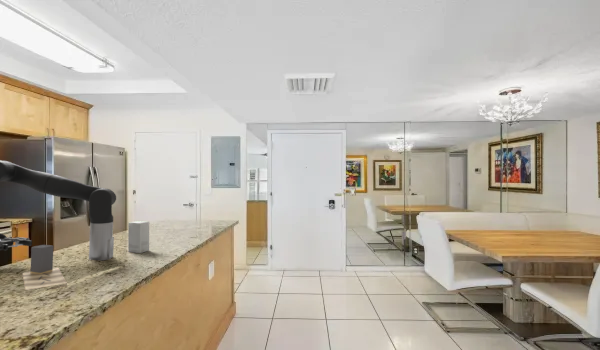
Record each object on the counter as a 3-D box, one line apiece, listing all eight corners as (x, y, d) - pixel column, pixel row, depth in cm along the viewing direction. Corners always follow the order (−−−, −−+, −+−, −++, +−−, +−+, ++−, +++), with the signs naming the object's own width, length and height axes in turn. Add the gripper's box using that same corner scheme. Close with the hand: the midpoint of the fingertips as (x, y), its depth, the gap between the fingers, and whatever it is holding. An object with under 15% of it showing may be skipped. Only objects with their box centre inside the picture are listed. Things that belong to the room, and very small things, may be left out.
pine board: (22, 275, 118) (22, 272, 118) (58, 270, 125) (58, 267, 125) (25, 293, 100) (25, 290, 100) (66, 286, 108) (66, 282, 108)
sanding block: (30, 272, 118) (31, 247, 118) (42, 269, 122) (43, 244, 122) (40, 274, 117) (41, 248, 117) (52, 270, 121) (53, 245, 121)
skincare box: (149, 250, 162) (150, 221, 162) (139, 253, 156) (140, 223, 156) (137, 249, 165) (138, 220, 165) (126, 251, 158) (128, 222, 159)
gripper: (-33, 235, 118) (-1, 239, 115) (9, 230, 132) (38, 233, 129) (-34, 254, 118) (-3, 259, 115) (8, 247, 132) (37, 250, 128)
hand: (19, 245), depth 122 cm, fingers open, 8 cm apart
